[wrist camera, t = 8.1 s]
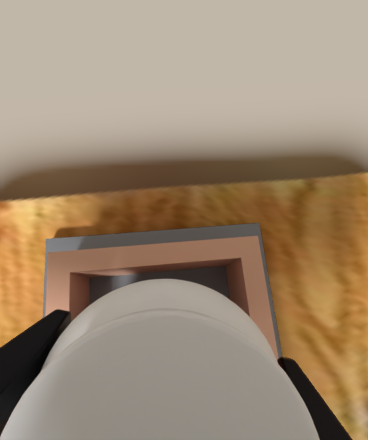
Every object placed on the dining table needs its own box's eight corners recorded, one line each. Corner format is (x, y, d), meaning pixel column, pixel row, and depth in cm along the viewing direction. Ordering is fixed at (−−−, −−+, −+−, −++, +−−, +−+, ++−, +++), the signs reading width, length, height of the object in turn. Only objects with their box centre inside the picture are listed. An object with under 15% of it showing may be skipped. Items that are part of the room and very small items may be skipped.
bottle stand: (42, 499, 14) (-10, 584, 10) (51, 241, 17) (15, 223, 13) (294, 460, 15) (344, 520, 11) (255, 226, 18) (281, 204, 14)
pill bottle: (216, 433, 13) (418, 931, 3) (88, 415, 13) (-215, 868, 3) (228, 299, 15) (380, 292, 5) (116, 282, 15) (3, 233, 4)
